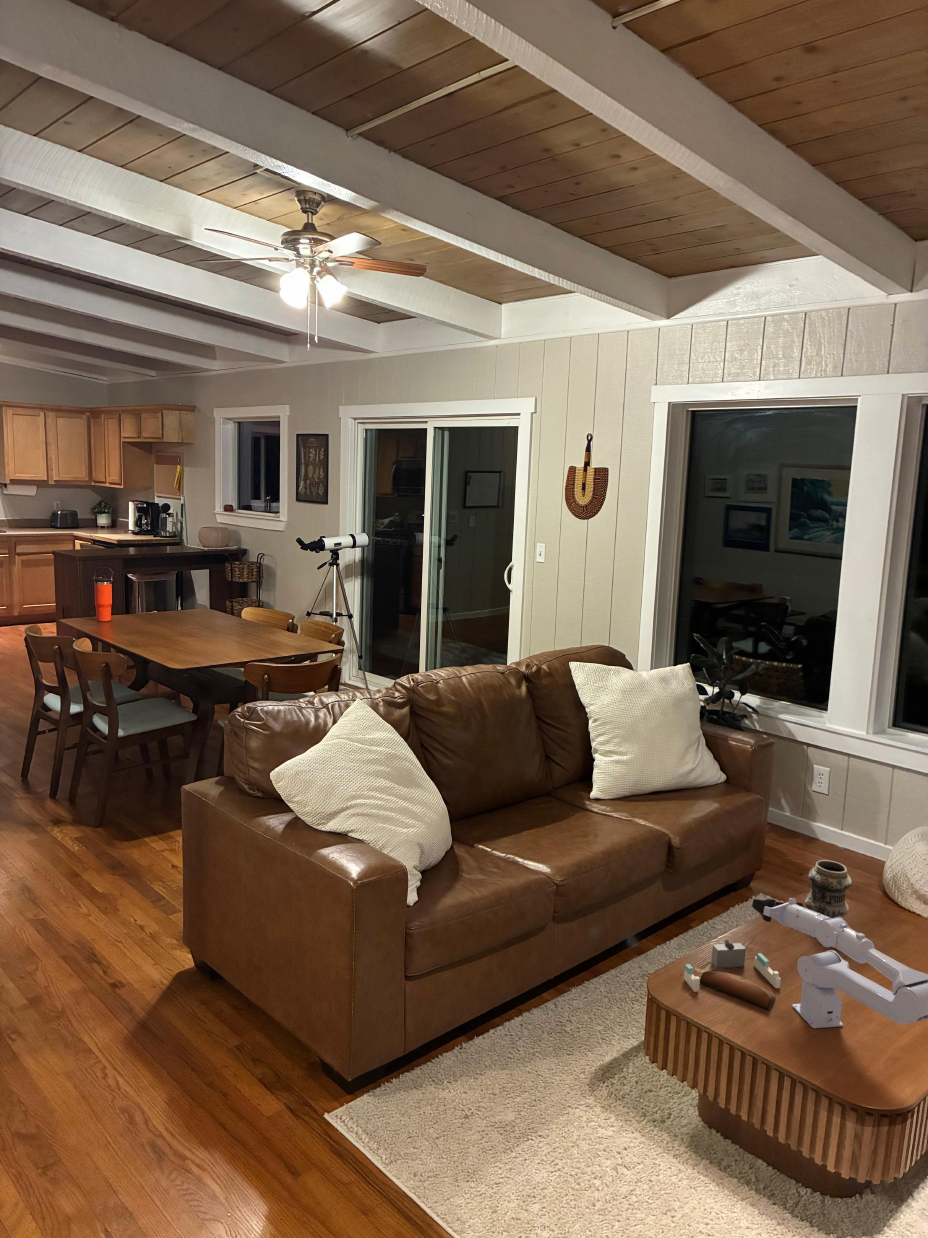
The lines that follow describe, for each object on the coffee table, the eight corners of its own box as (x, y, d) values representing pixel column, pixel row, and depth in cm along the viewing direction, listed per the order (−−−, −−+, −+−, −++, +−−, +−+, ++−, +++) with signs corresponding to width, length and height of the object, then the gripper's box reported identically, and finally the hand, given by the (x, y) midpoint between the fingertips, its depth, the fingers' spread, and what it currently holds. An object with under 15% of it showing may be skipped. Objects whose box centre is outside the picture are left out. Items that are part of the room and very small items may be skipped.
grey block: (744, 966, 242) (746, 944, 241) (716, 968, 240) (718, 946, 239) (738, 960, 245) (740, 939, 244) (711, 962, 243) (713, 940, 242)
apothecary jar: (842, 937, 260) (849, 878, 257) (798, 925, 266) (805, 867, 263) (849, 921, 270) (856, 863, 268) (807, 909, 276) (813, 853, 274)
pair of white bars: (779, 988, 232) (781, 973, 231) (696, 994, 227) (697, 979, 227) (757, 965, 242) (759, 951, 242) (677, 970, 238) (678, 956, 237)
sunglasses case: (780, 996, 228) (777, 980, 224) (770, 1020, 224) (768, 1005, 220) (711, 970, 239) (708, 955, 235) (701, 993, 234) (697, 978, 231)
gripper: (828, 906, 226) (788, 892, 239) (785, 901, 221) (746, 886, 233) (823, 935, 226) (783, 918, 238) (780, 930, 220) (741, 914, 232)
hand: (764, 904), depth 236 cm, fingers open, 7 cm apart
